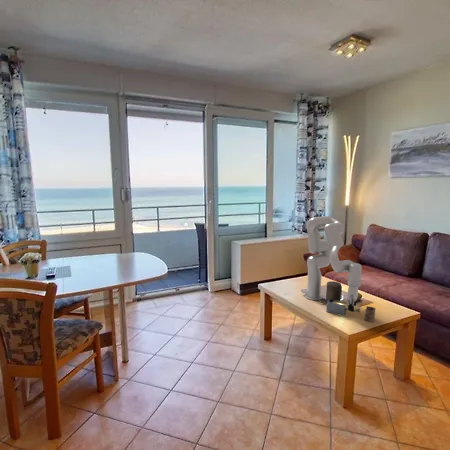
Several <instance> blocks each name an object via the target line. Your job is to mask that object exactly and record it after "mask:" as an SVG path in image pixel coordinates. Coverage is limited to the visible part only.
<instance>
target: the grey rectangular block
mask: <svg viewBox="0 0 450 450" xmlns="http://www.w3.org/2000/svg"><path fill="white" fill-rule="evenodd" d="M333 302H339V303H344V304H348V303H347V301H344V300H340V301H339V300H334V299H329V300H328V301H327V302H326V310H325V311H326V313H330V314H334V315H340V316H343V317H344V316H345V315H346V312H347V310H345V305H342V304H337V303H333Z"/></svg>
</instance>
